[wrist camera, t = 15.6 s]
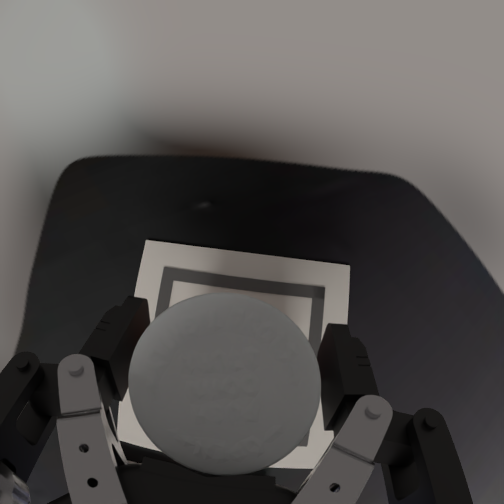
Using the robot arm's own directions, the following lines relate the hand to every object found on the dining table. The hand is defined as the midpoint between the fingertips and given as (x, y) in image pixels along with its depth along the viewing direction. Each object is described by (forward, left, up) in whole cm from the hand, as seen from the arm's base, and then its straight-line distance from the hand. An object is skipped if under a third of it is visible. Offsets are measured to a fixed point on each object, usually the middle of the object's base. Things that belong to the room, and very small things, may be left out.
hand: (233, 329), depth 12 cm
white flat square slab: (0, +2, -7) cm, 7 cm away
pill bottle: (0, +2, -7) cm, 7 cm away
